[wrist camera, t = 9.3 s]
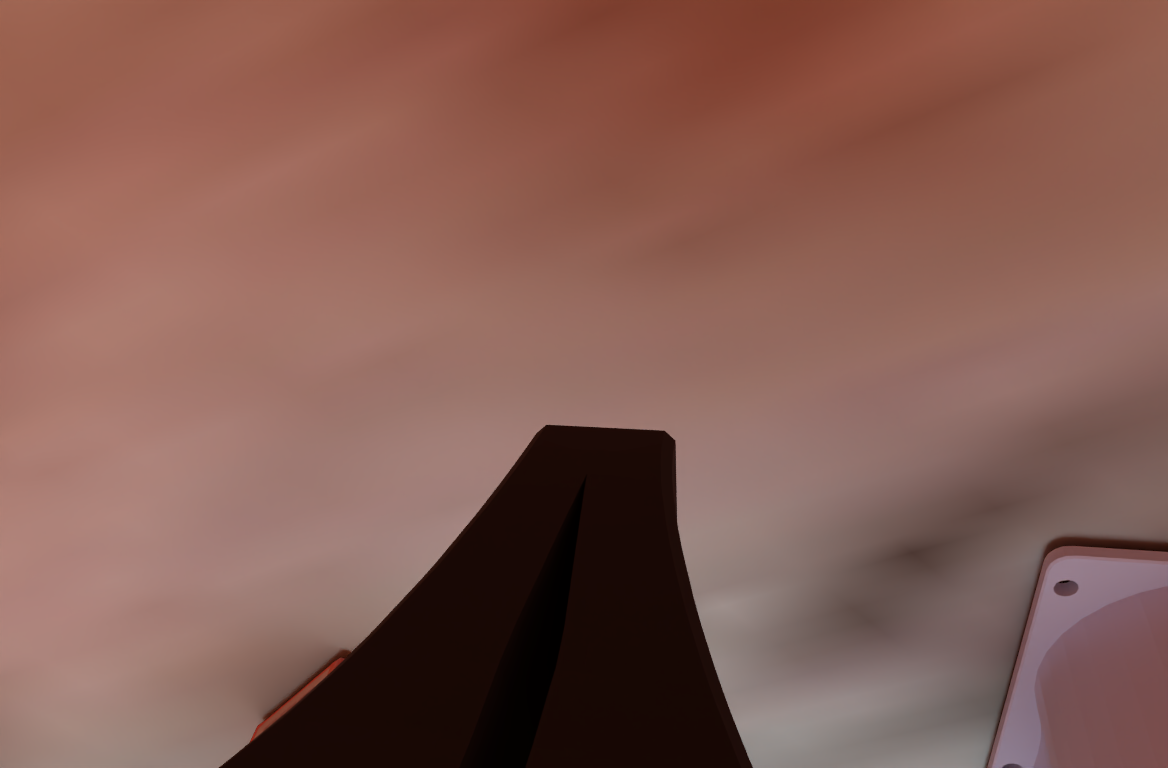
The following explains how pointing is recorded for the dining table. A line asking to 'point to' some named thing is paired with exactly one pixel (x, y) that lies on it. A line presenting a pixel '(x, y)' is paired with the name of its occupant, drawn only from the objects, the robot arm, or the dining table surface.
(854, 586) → the dining table surface
